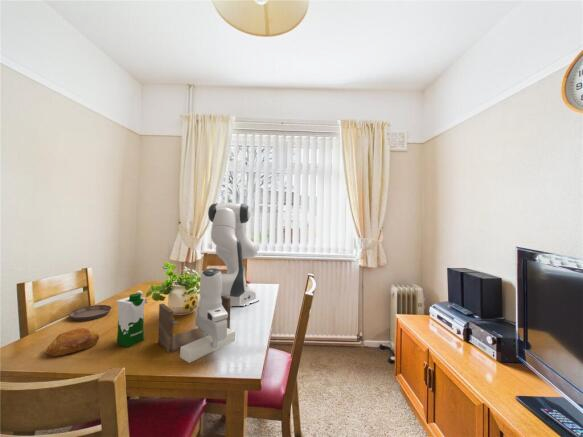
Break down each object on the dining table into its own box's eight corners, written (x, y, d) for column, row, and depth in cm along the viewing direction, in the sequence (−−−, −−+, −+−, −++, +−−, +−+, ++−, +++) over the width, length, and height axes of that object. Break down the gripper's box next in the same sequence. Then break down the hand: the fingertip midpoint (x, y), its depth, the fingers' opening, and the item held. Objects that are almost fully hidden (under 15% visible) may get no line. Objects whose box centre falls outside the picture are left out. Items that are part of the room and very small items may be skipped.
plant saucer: (119, 312, 140) (119, 307, 140) (84, 324, 123) (84, 318, 123) (96, 308, 145) (96, 303, 145) (60, 319, 128) (60, 313, 128)
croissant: (98, 353, 102) (102, 333, 102) (45, 362, 91) (50, 339, 92) (94, 339, 112) (98, 321, 113) (45, 345, 101) (50, 325, 102)
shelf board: (225, 336, 114) (226, 327, 114) (235, 340, 111) (235, 331, 111) (180, 357, 96) (180, 347, 96) (189, 363, 93) (189, 352, 93)
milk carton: (127, 348, 101) (128, 298, 101) (112, 344, 104) (113, 295, 105) (147, 339, 109) (148, 292, 109) (132, 335, 113) (133, 290, 113)
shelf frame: (216, 324, 126) (217, 292, 126) (229, 332, 118) (230, 298, 118) (158, 342, 107) (159, 304, 107) (168, 353, 99) (169, 311, 99)
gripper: (192, 304, 108) (191, 337, 108) (215, 318, 94) (214, 356, 94) (206, 301, 113) (205, 332, 113) (230, 314, 98) (229, 350, 98)
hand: (209, 343), depth 103 cm, fingers open, 6 cm apart
